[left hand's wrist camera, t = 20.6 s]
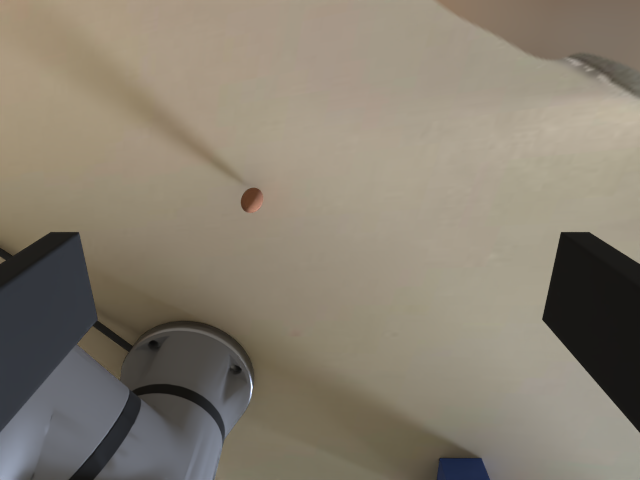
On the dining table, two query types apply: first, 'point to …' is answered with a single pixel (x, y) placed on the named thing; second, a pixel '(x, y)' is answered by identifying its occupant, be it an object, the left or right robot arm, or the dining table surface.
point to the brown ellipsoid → (252, 200)
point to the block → (462, 469)
